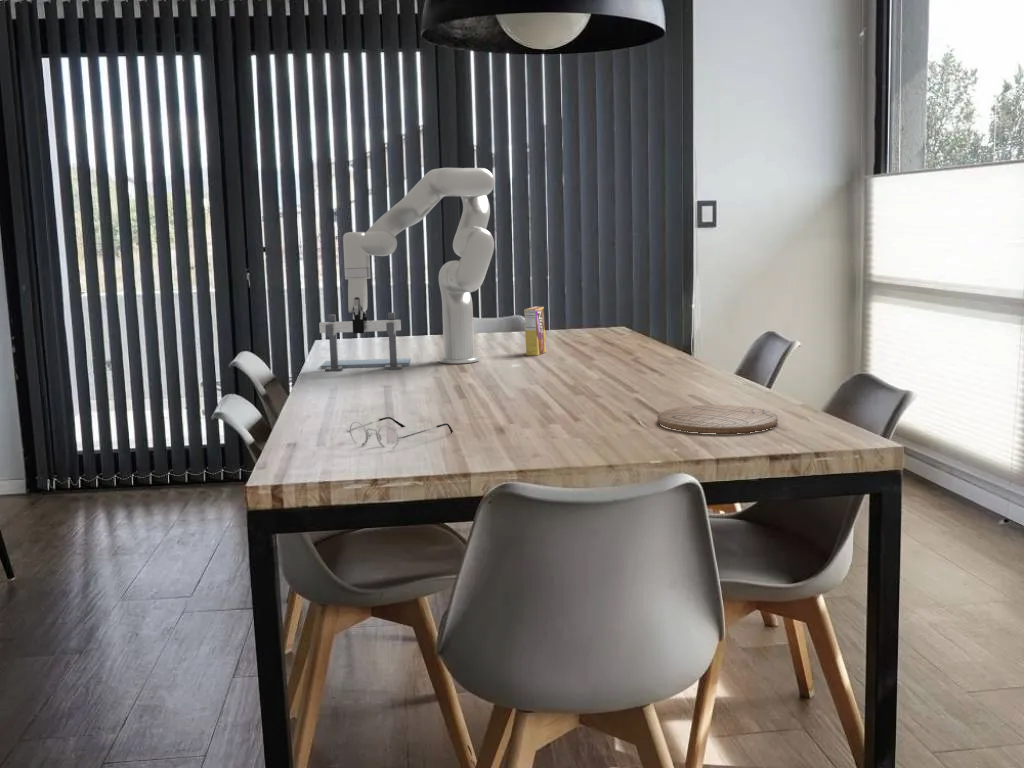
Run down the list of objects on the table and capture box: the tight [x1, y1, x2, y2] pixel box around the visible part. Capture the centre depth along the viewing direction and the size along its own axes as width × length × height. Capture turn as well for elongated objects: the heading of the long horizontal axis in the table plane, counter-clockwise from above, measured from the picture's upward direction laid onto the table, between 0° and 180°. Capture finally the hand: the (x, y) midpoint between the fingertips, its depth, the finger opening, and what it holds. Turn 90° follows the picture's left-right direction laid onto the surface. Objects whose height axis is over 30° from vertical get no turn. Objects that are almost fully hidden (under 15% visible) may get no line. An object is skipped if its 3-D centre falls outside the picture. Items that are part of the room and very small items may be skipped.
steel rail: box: [318, 319, 402, 334], centre depth 306 cm, size 2×24×3 cm, turn 92°
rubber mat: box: [320, 357, 412, 370], centre depth 321 cm, size 11×27×1 cm, turn 92°
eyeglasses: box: [346, 416, 454, 449], centre depth 211 cm, size 16×19×5 cm
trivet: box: [657, 404, 779, 434], centre depth 217 cm, size 25×25×2 cm
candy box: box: [523, 306, 547, 357], centre depth 334 cm, size 9×4×15 cm, turn 160°
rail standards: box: [324, 312, 403, 373], centre depth 309 cm, size 10×23×17 cm, turn 92°
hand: (360, 331), depth 306 cm, fingers open, 9 cm apart
